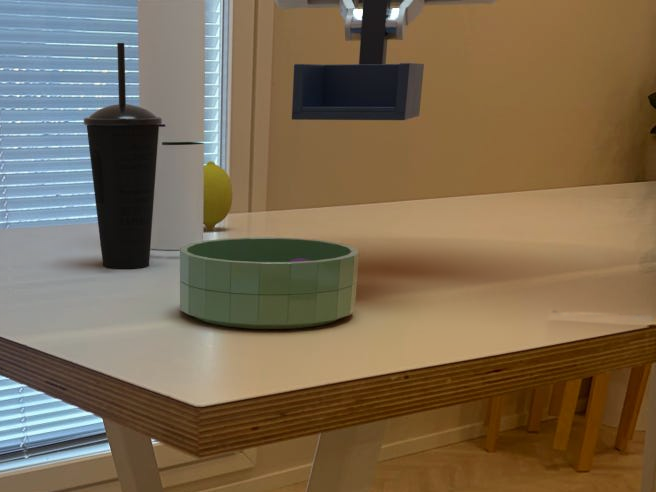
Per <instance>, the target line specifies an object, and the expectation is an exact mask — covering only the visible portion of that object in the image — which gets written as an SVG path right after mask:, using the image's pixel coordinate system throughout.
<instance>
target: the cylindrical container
mask: <svg viewBox="0 0 656 492" xmlns="http://www.w3.org/2000/svg"><path fill="white" fill-rule="evenodd" d="M137 46H138V47H137V50H138V51H137V55H138V58H137V59H138V102H139V103H138V104H139V105H138V107H141V108H144V109H146V110H148V111H149V112H151V113H152V114H154V115H155V116H156V117H160V118H161V119H162V124H160V125H159V132H158V146H157V160H156V175H155V189H154V203H153V217H152V231H151V245H150V250H160V251H180V248H181V247H183V246H185V245H188V244H190V243H195V242H201V241H204V224H203V205H204V165H205V142H204V141H205V99H206V98H205V96H206V95H205V92H206V91H205V90H206V89H205V88H206V87H205V86H206V85H205V83H206V0H137Z"/></svg>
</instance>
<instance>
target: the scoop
mask: <svg viewBox="0 0 656 492" xmlns="http://www.w3.org/2000/svg"><path fill="white" fill-rule="evenodd" d="M390 3H391V0H363V7H362V9H363V12H362V28H361V40H359V41H360V43H359V56H358V58H359V59H358V64H356V63H354V64H353V63H352V64H351V63H349V64H348V63H347V64H340V63H339V64H320V63H319V64H318V63H317V64H316V63H294V64H293V79H292V80H293V81H292V102H291V120H292V121H295V120H296V121H300V120H301V121H304V120H305V121H307V120H308V121H407V120H411V119H413V118H416V117H420V111H421V110H420V109H421V101H422V99H421V98H422V88H423V81H424V80H423V78H424V69H425V68H424V67H425V64H424V63H413V62H400V63H387V62H386V61H387V53H388V52H387V50H388V40H386V32H385V23H386V19H387V13H388V9H389V8H391V6H390Z"/></svg>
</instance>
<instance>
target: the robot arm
mask: <svg viewBox="0 0 656 492" xmlns="http://www.w3.org/2000/svg"><path fill="white" fill-rule="evenodd" d="M273 1H274V3H275V4H276V5H277V6H278V8H279V9H282V10H290V9H291V10H294V9H296V10H297V9H337V8H339V10H340V12H339V13H340V15H341V16H342V18H343V20H344V37H345V39H344V40H345V41H346V42H350V41H351V42H354V41H355V42H356V41H358V42H359V41H361V28H362V12H363V0H273ZM497 2H499V0H391V3H390V8H389V9H388V13H387V19H386V23H385V32H386V40H387V41H404V40H405V39H404V38H405V33H406V30H407V29H406V28H407V27H408V26H409V25H410V24H411V23H412V22H413V21H414V20H415V19H416V18H417V17H419V15H421V13H423V10H424V6H462V5H464V6H465V5H467V6H468V5H492V4H495V3H497Z"/></svg>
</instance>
